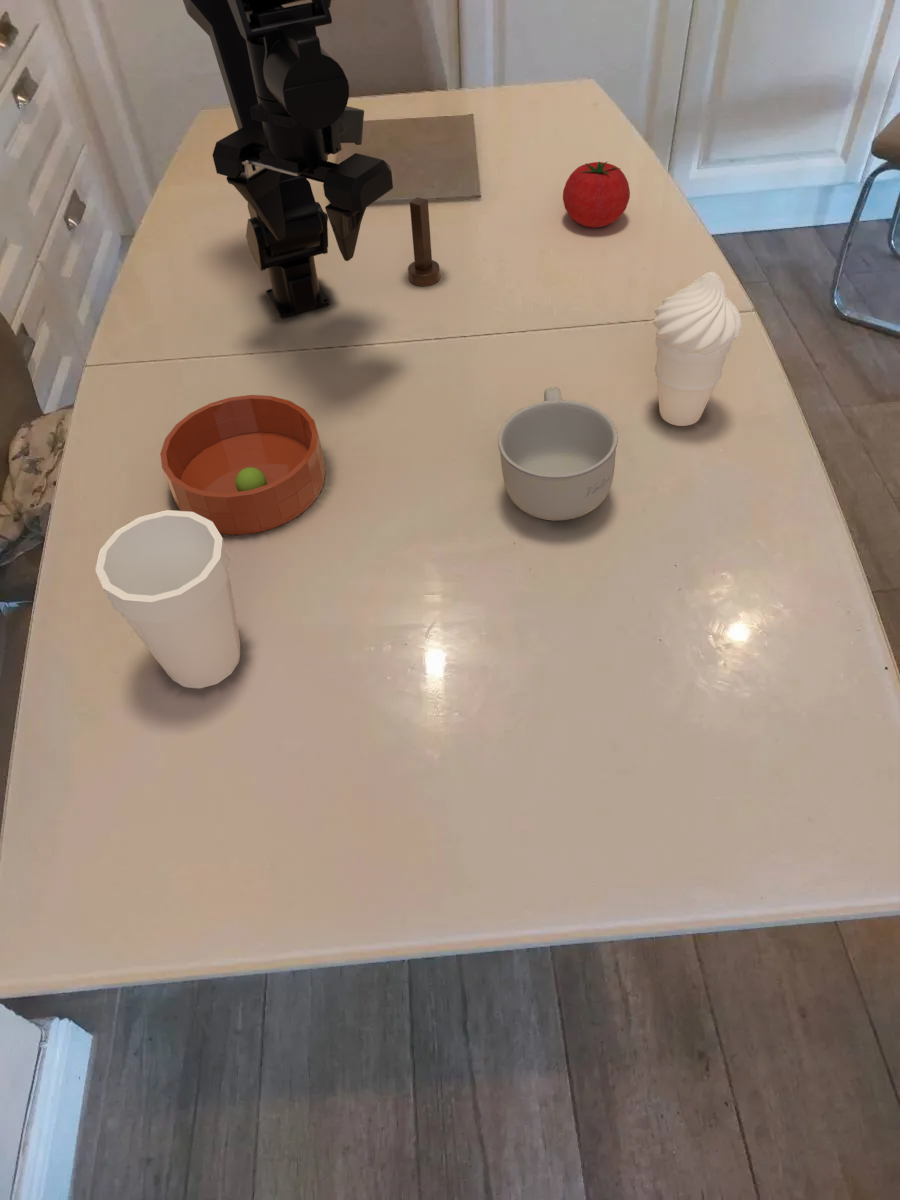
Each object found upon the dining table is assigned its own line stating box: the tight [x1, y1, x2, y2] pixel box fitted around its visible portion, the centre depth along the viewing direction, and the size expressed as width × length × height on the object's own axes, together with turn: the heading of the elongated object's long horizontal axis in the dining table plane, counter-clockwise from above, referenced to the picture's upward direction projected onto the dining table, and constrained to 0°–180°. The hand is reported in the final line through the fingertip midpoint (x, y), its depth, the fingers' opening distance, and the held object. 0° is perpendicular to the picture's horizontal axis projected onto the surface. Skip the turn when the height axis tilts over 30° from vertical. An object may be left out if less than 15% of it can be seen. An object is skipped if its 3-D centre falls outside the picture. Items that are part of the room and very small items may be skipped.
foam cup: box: [94, 509, 241, 689], centre depth 73 cm, size 10×9×13 cm
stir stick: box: [407, 196, 441, 287], centre depth 112 cm, size 4×4×10 cm
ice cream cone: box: [652, 271, 742, 427], centre depth 90 cm, size 8×8×16 cm
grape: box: [235, 467, 267, 492], centre depth 89 cm, size 3×3×3 cm
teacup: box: [497, 386, 619, 522], centre depth 87 cm, size 14×11×8 cm
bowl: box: [159, 394, 326, 536], centre depth 90 cm, size 15×15×5 cm
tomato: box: [562, 161, 631, 228], centre depth 120 cm, size 9×9×8 cm
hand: (314, 248), depth 96 cm, fingers open, 9 cm apart
